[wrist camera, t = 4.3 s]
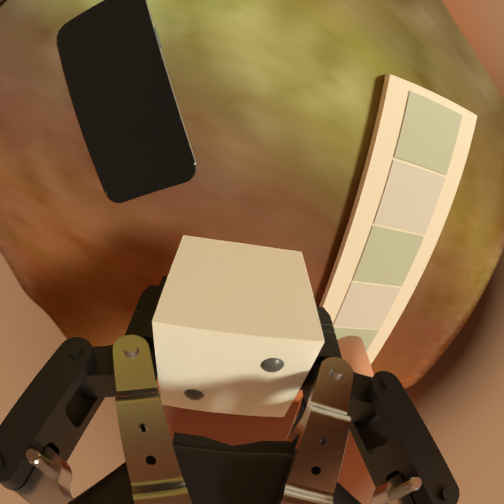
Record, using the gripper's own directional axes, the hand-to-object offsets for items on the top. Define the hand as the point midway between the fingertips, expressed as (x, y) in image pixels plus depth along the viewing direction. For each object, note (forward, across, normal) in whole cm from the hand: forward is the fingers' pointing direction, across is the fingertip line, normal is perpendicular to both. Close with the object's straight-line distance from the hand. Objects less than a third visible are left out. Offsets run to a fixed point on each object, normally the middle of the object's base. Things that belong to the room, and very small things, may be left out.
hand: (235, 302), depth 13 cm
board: (+9, -12, +1) cm, 15 cm away
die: (+1, 0, 0) cm, 1 cm away
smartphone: (+10, +9, -8) cm, 16 cm away
